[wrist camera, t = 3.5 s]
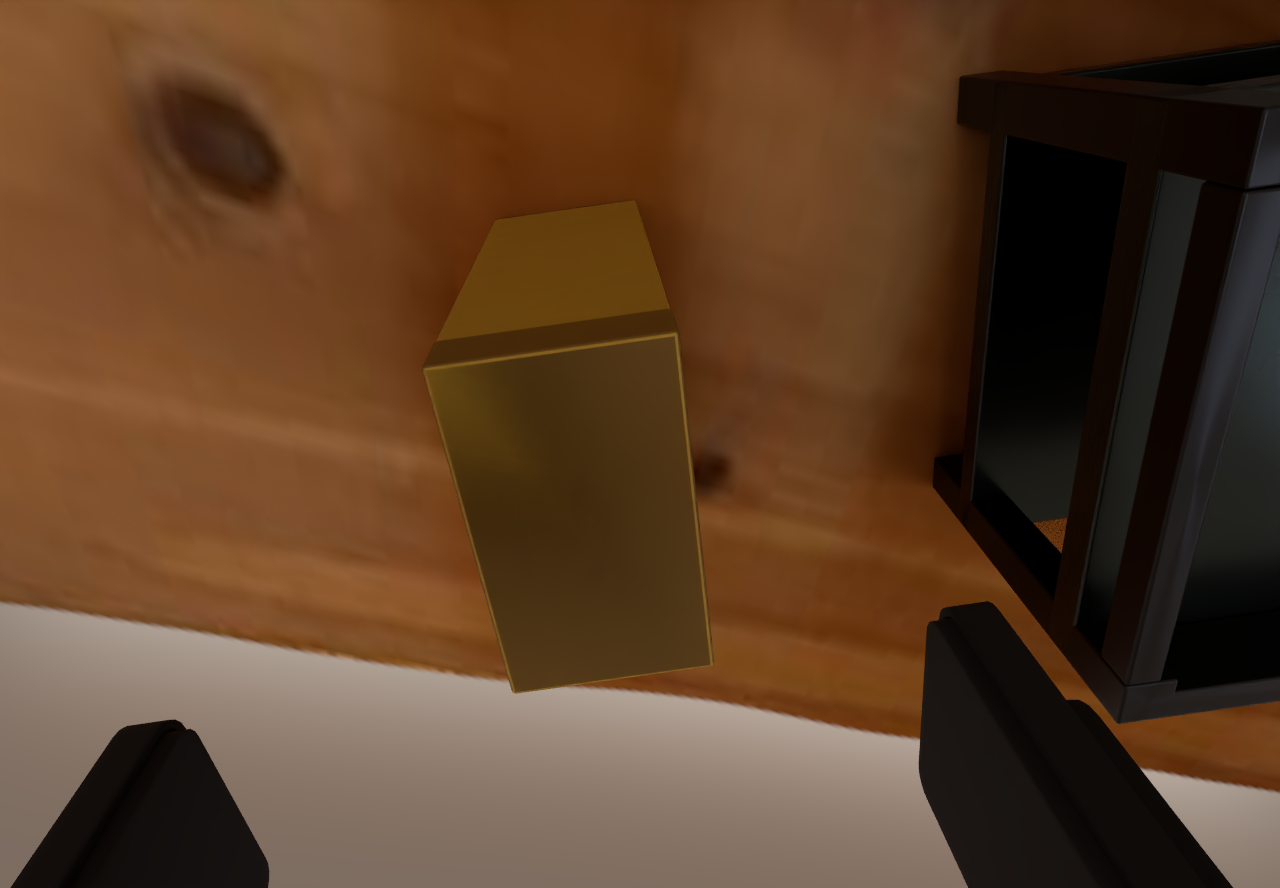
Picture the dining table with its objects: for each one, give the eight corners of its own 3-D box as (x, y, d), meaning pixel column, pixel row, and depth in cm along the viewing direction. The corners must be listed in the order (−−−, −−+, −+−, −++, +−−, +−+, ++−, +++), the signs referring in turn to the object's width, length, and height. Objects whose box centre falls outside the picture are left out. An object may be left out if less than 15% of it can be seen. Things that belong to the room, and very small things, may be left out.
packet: (493, 218, 22) (419, 366, 12) (636, 198, 22) (679, 330, 12) (540, 439, 25) (512, 695, 15) (663, 421, 25) (715, 667, 15)
